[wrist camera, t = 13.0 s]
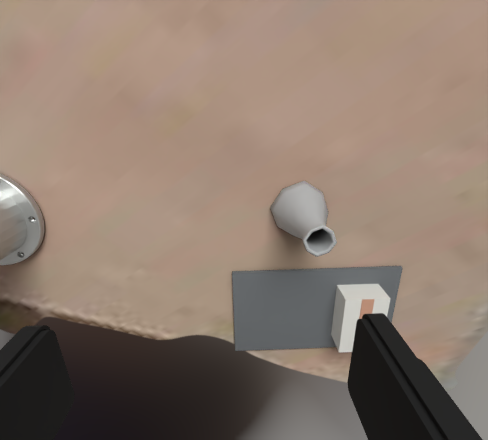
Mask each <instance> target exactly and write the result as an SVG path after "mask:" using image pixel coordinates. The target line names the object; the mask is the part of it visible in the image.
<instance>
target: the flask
mask: <svg viewBox="0 0 488 440" xmlns="http://www.w3.org/2000/svg"><path fill="white" fill-rule="evenodd" d="M270 209H271V211H272V214H273V216H274V219H275V222H276V224H277V227H279V228H281V229H283V230H284V231H286V232H288V233H290V234H291V235H293V236H295V237H298V238H302V240H303V243H304V245H305V248H306V251H308V252H309V253H311V254H313V255H315V256H316V257H318V256H321V255H323V254H326V253H329V252H330V251H331V249H332V248H333V247H334V246H335V244H336V243H337V242H336V238H335V235H334V232H333V231H332V230H331V229H329V228H327V227H326V221H327V216H328V209H327V206H326V202H325V199H324V196H323V192H321V191H320V190H318V189H317V188H315V187H314V186H312V185H310V184H309V183H307V182H306V181H302V182H299V183H297V184H294V185H291V186H289V187H286V188H283V189H282V190H281V192H280V193H279V195H278V196H277V198H276V199H275V201H274V202H273V204H272V205H271V207H270Z"/></svg>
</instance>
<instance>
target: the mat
mask: <svg viewBox="0 0 488 440" xmlns="http://www.w3.org/2000/svg"><path fill="white" fill-rule="evenodd" d="M401 273H402V267H401V266H382V267H351V268H321V269H290V270H260V271H232V280H233V306H234V331H235V351H242V350H243V351H245V350H270V349H296V348H322V347H336V345H335V343H334V340H333V338H332V336H331V331H332V323H333V314H334V305H335V297H336V288H337V285H351V284H379V285H380V286H381V288H382V289H383V290H384V291H385V292H386V294H387V295H388V296H389V297H390V298H391V299H390V304H389V309H388V314H387V318H388V319H389V321H390V322H392V317H393V312H394V307H395V302H396V297H397V292H398V288H399V283H400V278H401Z"/></svg>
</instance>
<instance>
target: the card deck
mask: <svg viewBox="0 0 488 440" xmlns="http://www.w3.org/2000/svg"><path fill="white" fill-rule="evenodd" d="M390 299H391V298H390V297H389V296H388V295H387V294H386V292H385V291H384V290H383V289H382V288H381V286H380V285H379V284H351V285H337V288H336V297H335V305H334V314H333V323H332V331H331V336H332V338H333V340H334V343H335V345H336V347H337V350H338V352H352V350H353V343H354V336H355V330H356V323H357V320H358V319H362V316H363V314H374V313H383V314H385V315H386V316H387V314H388V309H389V304H390Z"/></svg>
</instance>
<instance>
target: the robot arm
mask: <svg viewBox="0 0 488 440" xmlns="http://www.w3.org/2000/svg"><path fill="white" fill-rule="evenodd" d="M44 232H45V231H44V220H43V216H42V213H41V211H40V209H39V206H38V205H37V203H36V202H35V200H34V199H33V197H32V196H31V195H30V194H29V193H28V192H27V191H26V190H25V189H24V188H23V187H22V186H21V185H19V184H18V183H17V182H15V181H14V180H12V179H10V178H9V177H7V176H5V175H2V174H0V265H11V264H15V263H18V262H21V261H23V260H25V259H26V258H28V257H29V256H31V255H32V254H33V253H35V251H36V250H37V249H38V248H39V247H40V245H41V243H42V241H43V237H44ZM348 389H349V393H350V396H351V398H352V401H353V403H354V406H355V408H356V411H357V413H358V415H359V418H360V420H361V423H362V425H363V428H364V430H365V433H366V435H367V438H368V440H482V439H481V437H480V436H479V435H478V433H477V432H476V431H475V429H474V428H473V427H472V425H471V424H470V423H469V422H468V420H467V419H466V417H465V416H464V415H463V413H462V412H461V411H460V409H459V408H458V407H457V405H456V404H455V403H454V401H453V400H452V399H451V397H450V396H449V395H448V394H447V392H446V391H445V389H444V388H443V387H442V385H441V384H440V383H439V381H438V380H437V379H436V377H435V376H434V375H433V373H432V372H431V371H430V369H429V368H428V367H427V365H426V364H425V363H424V362H423V361H422V360H420V359H418V358H417V357H416V356H415V354H414V353H413V352H412V350H411V349H410V348H409V346H408V345H407V344H406V342H405V341H404V340H403V338H402V337H401V335H400V334H399V333H398V331H397V330H396V329H395V327H394V326H393V325H392V323H391V322H390V321H389V319H388V318H387V316H386V315H385V314H383V313H374V314H363V316H362V319H358V320H357V323H356V330H355V336H354V343H353V350H352V356H351V363H350V370H349V376H348ZM73 401H74V391H73V388H72V384H71V381H70V378H69V375H68V372H67V369H66V365H65V362H64V359H63V356H62V353H61V350H60V347H59V344H58V340H57V337H56V334H55V332H54V331H53V330H50V328H49V327H48V326H44V325H43V326H26V327H23V328H22V329H21V330H20V331H19V332H18V333H17V334H16V335H15V336H14V337H13V338H12V339H11V340H10V341H9V342H8V343H7V344H6V345H5V346H4V347H3V348H2V349H1V350H0V440H53V439H54V437H55V436H56V434H57V432H58V430H59V428H60V426H61V425H62V423H63V421H64V419H65V417H66V416H67V414H68V412H69V410H70V408H71V406H72V404H73Z"/></svg>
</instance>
